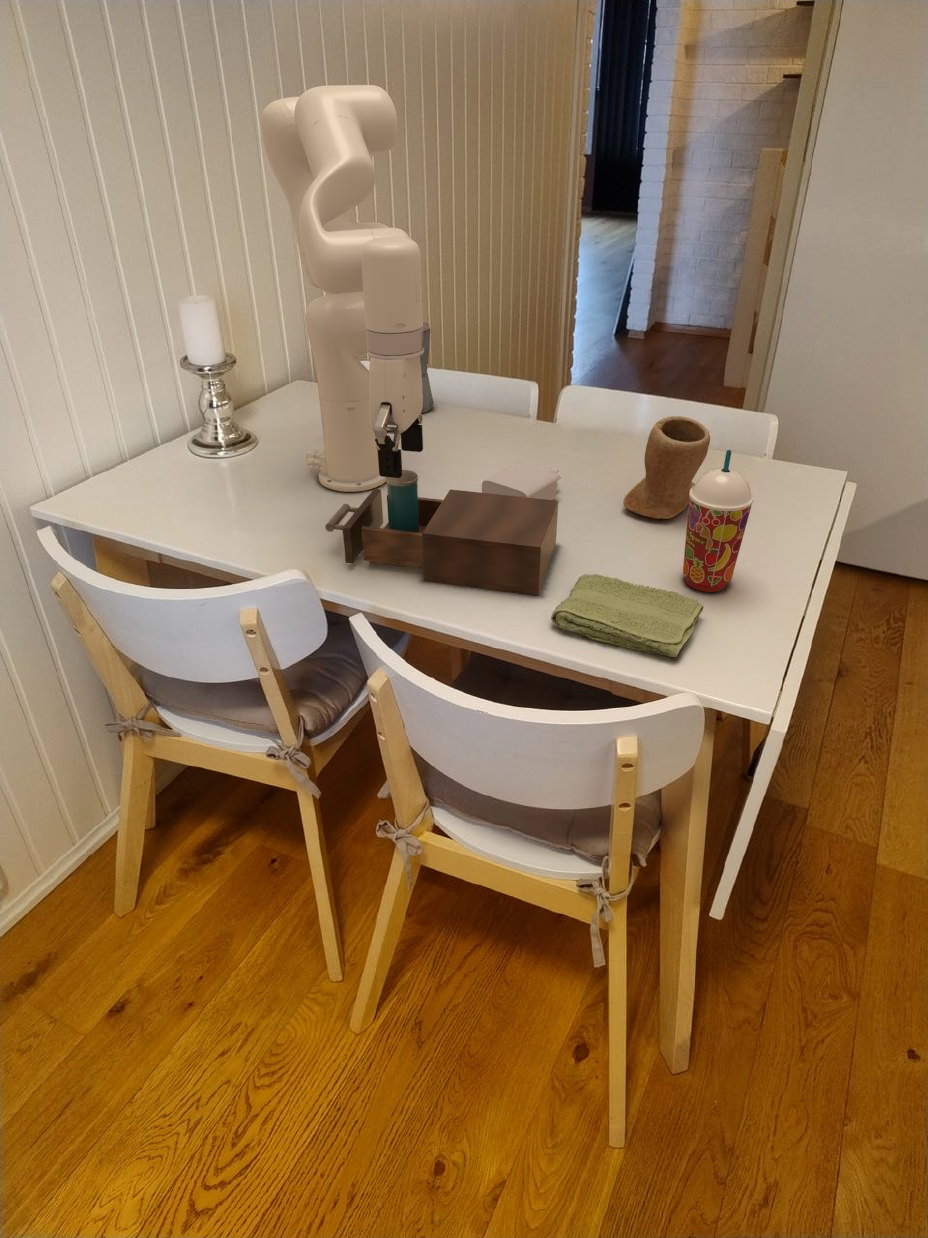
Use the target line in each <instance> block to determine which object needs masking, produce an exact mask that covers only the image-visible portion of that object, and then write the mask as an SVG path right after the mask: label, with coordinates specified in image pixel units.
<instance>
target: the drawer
mask: <svg viewBox="0 0 928 1238" xmlns="http://www.w3.org/2000/svg"><path fill="white" fill-rule="evenodd" d="M382 497H383V496H382V489H381V488H373V489H372V491H371V492H370V493H369V494H368V496H367V497H366V498H365V499H364V500H363V501H362V503H361V504H360V505H359V506H358V507H354V506H353V507H352V506H350V504H348V503H343V504H342V505H341V506H340V507H339V509H338V510H337V511H336V512H335V513H334V515H333V516H332V517H331V518H330V519H329V521H327V523H326V524H325V526H324V528H325V530H326V531H327V532H329V533H332V532H334V531H335V530H337V531H342V539H343V550H344V559H345V564H351V565H353V564H354V563H355V562H356V561H357V559H358V558H359V556H361V554H363V561H367V562H375V563H383V564H390V565H397V566H405V567H414V568H422V569H423V545H422V533H423V531H424V529H425V528H426V526H427V525H428V523H429V522H430V520H431V518H432V517H433V515H434V514H435V512H436V511H437V509H438V508H439V506H440V504H441V503H442V501H443V500H444V499H441V498H440V499H439V498H431V497H430V498H429V497H421V496H418V509H419V533H416V532H408V531H399V530H391V529H390V522H389V506H388V494H387V495H386V504H387V520H388V522H387V523H386V524H385V526H384V528H382V525H383V524H384V512H383V498H382ZM349 513H352V515H351V516H350V517H349V518H348V520H347V521H346V522H345V523H344V524H341V522H342V521H343V520H344V518H345V517H346V516H347V515H348V514H349Z"/></svg>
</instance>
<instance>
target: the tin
mask: <svg viewBox="0 0 928 1238" xmlns="http://www.w3.org/2000/svg"><path fill="white" fill-rule="evenodd" d="M418 481H419V474H418V473H417V472H415V471H413V470H409V469H408V470H407V469H402V477H401V478H391V477H386V486H387V487H386V488H387V495H388V506H389V522H390V529H391V530H399V531H408V532H416V533H419V509H418V497H419V488H418V486H419V485H418Z"/></svg>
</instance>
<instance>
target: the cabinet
mask: <svg viewBox="0 0 928 1238" xmlns="http://www.w3.org/2000/svg"><path fill="white" fill-rule="evenodd" d="M442 500H443V501H442V503H441V504H440V506H439V508H438V509H437V511H436V512H435V514H434V515H433V517H432V518H431V520H430V522H429V523H428V525H427V526H426V528H425V529H424V531H423V533H422V545H423V568H422V570H423V581H424V582H429V583H438V584H445V585H454V586H461V587H470V588H477V589H483V590H485V589H486V590H490V591H491V590H492V591H500V592H506V593H514V594H522V595H530V596H539V595H540V592H541V589H542V586H543V584H544V580H545V578H546V575H547V573H548V570H549V566H550V564H551V561H552V558H553V555H554V553H555V549H556V546H557V532H558V531H557V530H558V528H557V527H558V513H559V500H557V499H556V500H555V499H553V500H546V499H537V498H527V497H518V496H508V495H499V494H490V493H482V492H480V491H471V490H460V489H449V490H448V492H447V493H446V495H445V496H444V498H443V499H442Z"/></svg>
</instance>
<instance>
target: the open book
mask: <svg viewBox="0 0 928 1238" xmlns="http://www.w3.org/2000/svg"><path fill="white" fill-rule="evenodd" d="M559 472H560V470H559V469H556V470H555V469H553V468H551V466H548V467H546V466H544V465H542V466H537V467H531V466H528V465H524V464H520V463H514V464H511V465H510V466H508V467H507V468H504V469H503V470H501V471H499V472H497V473H495V474H494V475H492V476H490V477H488V478H486V479H484V480H483V481H482V482H481V493H490V494H499V495H508V496H518V497H527V498H537V499H546V500H555V499H556V497H557V488H558V481H559V480H560V479H562V477H561V475H560V474H559Z"/></svg>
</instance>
